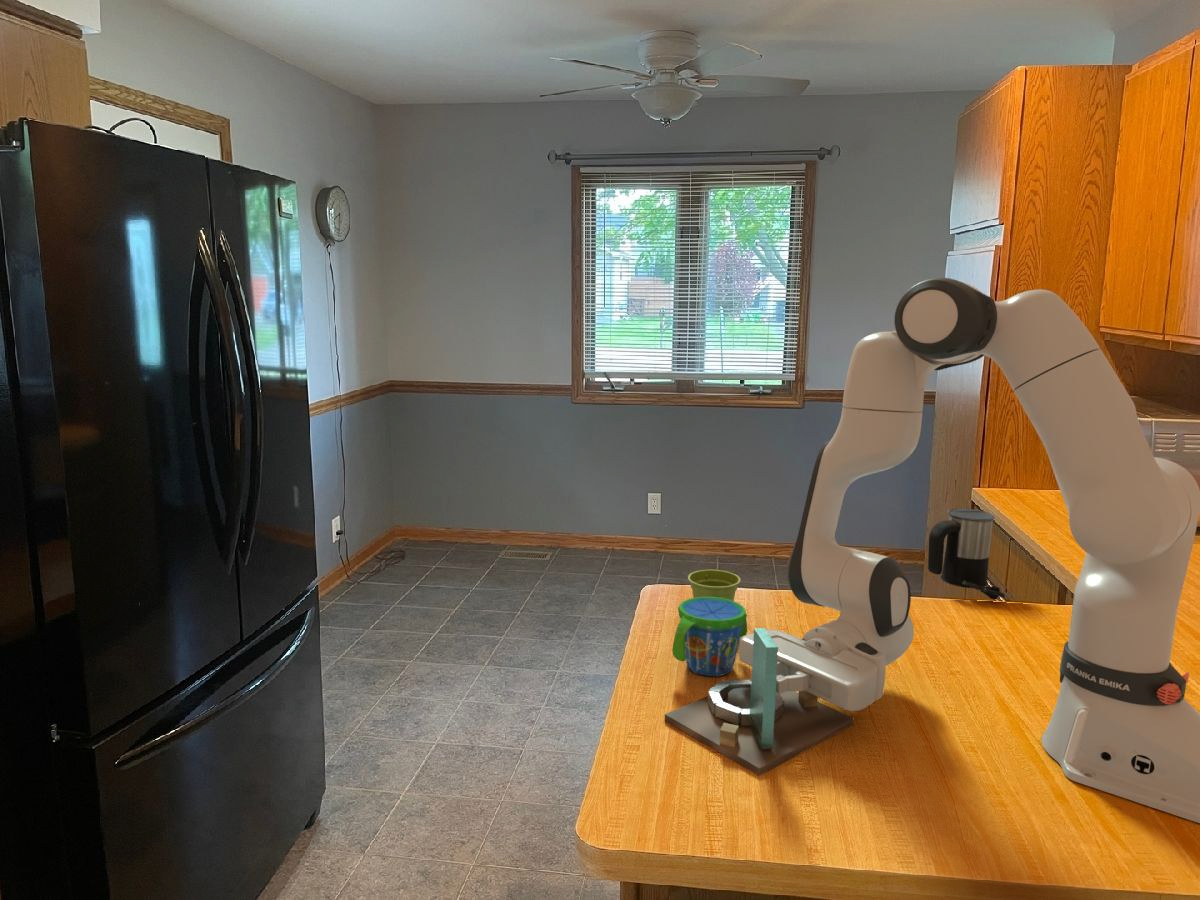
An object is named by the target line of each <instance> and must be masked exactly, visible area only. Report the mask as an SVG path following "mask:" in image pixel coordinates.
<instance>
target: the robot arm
mask: <svg viewBox="0 0 1200 900" xmlns="http://www.w3.org/2000/svg"><path fill="white" fill-rule="evenodd" d="M896 305H897V306H896V308H895V311H894V318H893V319H894V321H893V322H894V324H893V325H894V329H895V330H893V331H878V332H873V333H871V334H869V335H866V336H864V337H863V338H861V339H860V340H858V342H857V343H856V345H855V346H854V348H853V350H852V351H853V352H852V353H851V357H850V361H849V366H848V368H847V374H846V378H845V379H846V380H845V385H844V390H843V396H842V397H843V398H842V408H841V416H840V420H839V423H838V425H837V428H836V431H835V432H834V434H833V436H832V437H831V439H829V440H828V441H826V442H825V443H824V444H823V445H822V446H821V448H820V449H819V451H818V453H817V457H816V459H815V463H814V465H813V466H814V467H813V470H812V474H811V478H810V481H809V485H808V489H807V495H806V498H805V504H804V508H803V512H802V515H801V521H800V525H799V528H798V534H797V537H796V540H795V543H794V545H793V548H792V550H791V552H790V555H789V558H788V560H787V563H786V570H785V571H786V572H785V574H786V580H787V582H788V585H789V588H790V590H791V592H792V593H793V595H794V597H795V598H796V599H797V600H798V601H800V602H802V603H804V604H807V605H813V606H818V607H827V608H829V609H832V610H835V611H839V616H838V617H837V618H836V619H835V620H831V621H829V622H826V623H824V624H821V625H818V626H817V627H814V628H811V629H809V630H808V631H806V632H805V634H804V635H803V637H802V638H799V637H797V636H795V635H793V634H789V633H787V632H785V631H782V630H779V629H766V630H767V632H768V633H769V635H770V636H771V637H772V639H773V640H774V642H775V643H776V645H777V646H778V661H777V679H776V692H778V693H780V694H781V693H784V692H786V691H796V692H799V691H806V692H808V693H810V694H813V695H815V696H817V697H818V699H821V700H823V701H825V702H828V703H830V704H832V705H835V706H837V707H839V708H841V709H843V710H845V711H848V712H849V711H850V712H859V711H862V710H863V709H865V708H867V707H869V706H870V705H872V704H873V703H874V702H875V701H878V700H881V698H882V697H883V694H884V690H885V689H884V688H885V683H886V682H885V680H886V666H889V665H890V664H893V662H895V661H896V660H898V659H900V658H901V656H902V655H904V653H906V652H907V650H908V649H909V647H910V646H911V644H912V642H913V640H914V636H915V635H914V634H915V633H914V632H915V629H914V623H913V621H912V617H911V616H910V615H909V613H910V608H911V599H912V597H911V596H912V595H911V594H912V593H911V591H912V590H911V586H910V582H909V579H908V576H907V574H906V572H905V569H904V568H903V567H902V565H901V563H900V562H899V561H898V560H897V559H896V558H894V557H890V556H886V555H882V554H879V553H874V552H871V551H866V550H860V549H855V548H852V547H846V546H842V545H840V544H838V543H837V540H836V538H835V533H836V531H837V526H838V522H839V519H840V514H841V510H842V507H843V502H844V497H845V494H846V492H847V490H848V488H849V487H850V485H852V483H854V482H855V481H857V480H858V479H860V478H862V477H865V476H869V475H873V474H875V473H876V474H877V473H881V472H883V471H887V470H890V469H892V468H894V467H897V466H898V465H900V464H901V463H903V462H904V461H906V459H908V458H909V457H910V456H911V455H912V454H913V452H915V450H916V448H917V446H918V443H919V440H920V437H921V430H922V422H923V421H922V420H923V409H924V399H925V389H926V385H927V381H928V378H929V376H930V375H931V374H932V372H933V371H942V370H945V369H949V368H953V367H957V366H962V365H967V364H970V363H973V362H976V361H977V360H980V359H982V358H983V357H985V356H986V357H988V358H989V359H991V360H992V361H993V362H994V363H996V364H995V365H997V366H998V367H999V369H1000V370H1001V372H1002V373H1003V375H1004V376H1005V378H1006V380H1007V382H1008V384H1009V386H1010V387H1011V389H1012V391H1013V393H1014V395H1015V396H1016V398H1017V400H1018V402H1019V403H1020V405H1021V407H1022V409H1023V410H1024V412H1025V414H1026V416H1027V417H1028V419H1029V421H1030V423H1031V424H1032V426H1033V428H1034V430H1035V431H1036V434H1037V435H1038V437H1039V439H1040V441H1041V443H1042V445H1043V447H1044V449H1045V451H1046V454H1047V456H1048V459H1049V462H1050V466H1051V468H1052V471H1053V474H1054V477H1055V480H1056V483H1057V486H1058V489H1059V491H1060V493H1061V496H1062V498H1063V502H1064V503H1065V507H1066V509H1067V513H1068V524H1069V528H1070V532H1071V535H1072V537H1073V539H1074V540H1075V542H1076V543H1077V545H1078V546H1079V547H1080V548H1081V549H1082V550H1083V552H1085V553H1086V554H1085V556H1084V559H1083V560H1084V561H1083V564H1082V567H1081V570H1080V573H1079V576H1078V578H1077V581H1076V584H1075V587H1074V593H1073V600H1072V601H1073V602H1072V607H1071V615H1070V617H1071V619H1070V623H1069V624H1070V625H1069V632H1068V641H1066V642H1064V646H1063V650H1062V653H1061V657H1060V664H1059V665H1060V666H1059V683H1060V687H1059V688H1060V689H1059V692H1058V697H1057V699H1056V702H1055V703H1056V704H1055V706H1054V710H1053V712H1052V716H1051V717H1050V720H1049V723H1048V725H1047V727H1046V729H1045V730H1044V732H1043V734H1042V736H1041V744H1042V747H1043V748H1044V750H1045V752H1047V754H1048V755H1049V756H1050V757H1051V758H1053V759H1054V760H1055V761H1056V762H1057V763H1058V764H1059V765H1060V766H1061V769H1062V772H1063V774H1064V775H1065V777H1067V778H1068V779H1069V780H1071V781H1073V782H1075V783H1079V784H1081V785H1085V786H1088V787H1091V788H1094V789H1097V790H1099V791H1102V792H1106V793H1109V794H1111V795H1115V796H1117V797H1120V798H1124V799H1126V800H1129V801H1133V802H1135V803H1137V804H1138V803H1139V804H1140V805H1144V806H1148V807H1149V808H1153V809H1156V810H1158V811H1162V812H1165V813H1168V814H1171V815H1174V816H1177V817H1180V818H1183V819H1186V820H1189V821H1193V822H1194V823H1198V824H1200V712H1199V711H1198V710H1197V709H1196V708H1195V707H1193V705H1191V704H1190V702H1189V701H1188V700H1187V699H1185V695H1186V688H1187V684H1188V683H1189V677H1190V672H1188V671H1186V673H1184V674H1183V675H1181V674H1180V672H1179V671H1178V670H1177V669H1176V668H1175V667H1174V666H1173V664H1172V663H1171V662H1170V661H1171V653H1172V650H1173V649H1172V648H1173V641H1174V635H1175V629H1176V623H1177V616H1178V609H1179V604H1180V600H1181V597H1182V591H1183V588H1184V584H1185V579H1186V575H1187V572H1188V567H1189V563H1190V559H1191V555H1192V549H1193V545H1194V541H1195V536H1196V532H1197V528H1198V527H1197V526H1198V523H1199V522H1198V521H1199V517H1200V487H1199V484H1198V483H1197V481H1196V479H1195V478H1194V476H1193V475H1192V474H1191V472H1189V471H1188V470H1187V468H1185V467H1184V466H1183V465H1180V464H1178V463H1177V462H1174V461H1172V460H1169V459H1166V458H1161V457H1156V456H1155V455H1154V454H1153V453H1152V450H1151V447H1150V445H1149V443H1148V440H1147V438H1146V436H1145V433H1144V431H1143V428H1142V425H1141V423H1140V420H1139V418H1138V414H1137V413H1138V412H1137V408H1136V405H1135V403H1134V401H1133V399H1132V398H1131V396H1130V395H1129V393H1128V391H1127V390H1126V388H1125V386H1124V385H1123V383H1122V381H1121V380H1120V378H1119V376H1118V375H1117V373H1116V371H1115V370H1114V368H1113V366H1112V365H1111V363H1110V362H1109V360H1108V359H1107V357H1106V355H1105V353H1104V352H1103V350H1102V349H1101V347H1100V345H1099V344H1098V343H1097V341H1096V339H1095V338H1094V336H1093V335H1092V333H1091V331H1089V329H1088V328H1087V326H1086V325H1085V324H1084V323H1083V321H1082V320H1081V319H1080V317H1079V316H1078V315H1077V314H1076V313H1075V312H1074V311H1073V309H1072V308H1071V307H1070V306H1069V305H1068V304H1067V303H1066V301H1065V300H1063V299H1062V298H1061V297H1060V296H1059V295H1058V294H1056V293H1055V292H1053V291H1051V290H1047V289H1031V290H1027V291H1022V292H1019V293H1017V294H1015V295H1012V296H1010V297H1009V298H1007V299H1005V300H999V301H996V300H994V299H993V298H992V297H991V296H989V295H987V294H985V293H983V292H982V291H980V289H978V288H976V287H975V286H974V285H972V284H970V283H969V284H968V283H966V282H963V281H960V280H957V279H954V278H949V277H934V278H929V279H925V280H923V281H919V282H918V283H916V284H914V285H913V286H911V287H910V288H909V289H907V291H906V292H905V293H904V294H903V296H901V298H900V300H899V302H898V303H897V304H896ZM753 639H754V632H752V633H748V634H746V635H745V636H743V637H740V639H739V644H738V658H739V661H740V662H741V663H744V664H746V665H748V666H750V667H752V659H753Z"/></svg>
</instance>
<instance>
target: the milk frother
mask: <svg viewBox="0 0 1200 900" xmlns="http://www.w3.org/2000/svg"><path fill="white" fill-rule="evenodd" d="M947 514H948V520H947V519H946V520H942V521H939V522H937V523H935V524H934V525H933V527H932V528H931V529H930V532H929V536H928V551H927V552H928V555H927V557H928V559H927V562H928V563H927V569H928V572H930V573H932V574H933V575H934V574H935V575H940V579H941V580H942V582H945V583H946V584H949V585H952V586H955V587H960V588H967V589H975V590H978V591H980V593H983V594H984V595H985V596H987V597H988V598H989V599H991V600H995V601H996V600H997V599H998V597H999V598H1005V597H1006V594H1005V593H1003V590H1001V588H1000V587H999V586H995V585H992V586H989V582H988V575H989V574H988V571H989V560H990V551H991V545H992V544H991V542H992V535H993V525H994V520H995V519H996V516H995V515H994V514H993V513H990V512H987V511H984V510H980V509H972V508H951V509H948V510H947ZM945 540H946V541H945ZM944 544H945V545H944Z"/></svg>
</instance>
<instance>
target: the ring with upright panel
mask: <svg viewBox="0 0 1200 900" xmlns="http://www.w3.org/2000/svg"><path fill="white" fill-rule="evenodd" d="M767 630H768V629H766V627H765V628H764V627H762V628H761V627H759V628H758V627H756V628H753V633H754V639H753V659H752V666H751V677H752V680H751V681H750V680H746V679H725V680H721V681H720V682H718V683H716V684H715V685H714V686H712V687H711V688H709V689H708V690H707V692H708V695H707V696H708V703H709V706H710V708H711V710H712V713H713V715H715V716H716V717H719V718H721V719H724V720H726V721H729V722H731V723H734V724H736V725H739V724H740V723H741V725H742V726H748V725H749V726H750V728H751V730H752V732H753V734H754V736H755V738H756V740H757V742H758V744H759V746H760V748H761V749H773V733H774V721H775V720H776V719H778V718H779V717H780V716H782V715H783V712H784V700H783V698H782V697H781V695H780V693H778V692H776V679H777V661H778V646H777V645H776V643H775V642H774V640H773V639H772V637H771V636H770V635H769V633H768V632H767ZM736 688H750V689H751V700H750V709H741V708H738V707H735V706H733V705H730V704H727V703H725V702H723V699H724V698H726V697H727V696H728V693H729V692H730V691H731V690H733V689H736Z"/></svg>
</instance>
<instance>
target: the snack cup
mask: <svg viewBox="0 0 1200 900" xmlns="http://www.w3.org/2000/svg"><path fill="white" fill-rule="evenodd" d="M677 611H678V616H679V619H680V621H679V622H678V625H677V627H676V630H675V634H674V637H673V638H674V639H673V643H672V648H671V649H672V650H671V651H672V656H673V657H674V659H676V660H677V661H680V662H685V663H686V665H687V667H688V668H689V669H690V670H691V671H692V672H693V673H694V674H698V675H702V676H708V677H721V676H723V675H727V674H728V673H730V672H731V671H733V670H734V665H735V662H736V657H737V653H738V650H739V643H740V639H741V637H743V636H745V635H748V634H747V633H748V623H747V621H748V620H747V617H748V615H747V614H748V613H747V611H746V608H745V607H744V606H743V605H742V604H740V603H738V602H737V601H735V600H734V601H732V600H728V599H724V598H718V597H695V598H693V597H691V598H687V599H685V600H683V601H682V602H681V603H680V604H679V605H678V608H677Z"/></svg>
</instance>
